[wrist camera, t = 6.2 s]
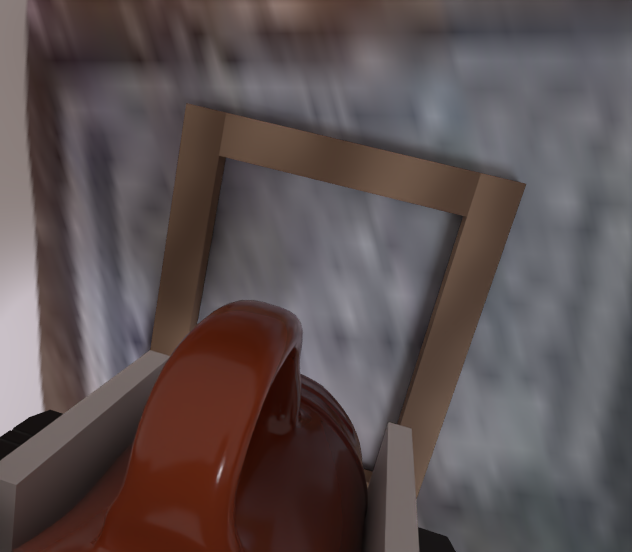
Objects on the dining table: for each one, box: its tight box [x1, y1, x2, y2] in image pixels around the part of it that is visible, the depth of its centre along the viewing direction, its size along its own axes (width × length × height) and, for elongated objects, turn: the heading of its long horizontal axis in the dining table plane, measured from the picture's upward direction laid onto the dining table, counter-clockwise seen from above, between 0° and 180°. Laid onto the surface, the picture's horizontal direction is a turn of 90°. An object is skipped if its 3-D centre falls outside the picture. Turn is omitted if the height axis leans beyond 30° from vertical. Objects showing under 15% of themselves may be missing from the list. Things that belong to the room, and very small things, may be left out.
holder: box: [150, 103, 526, 499], centre depth 24 cm, size 16×19×1 cm
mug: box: [11, 300, 368, 552], centre depth 11 cm, size 12×9×10 cm
